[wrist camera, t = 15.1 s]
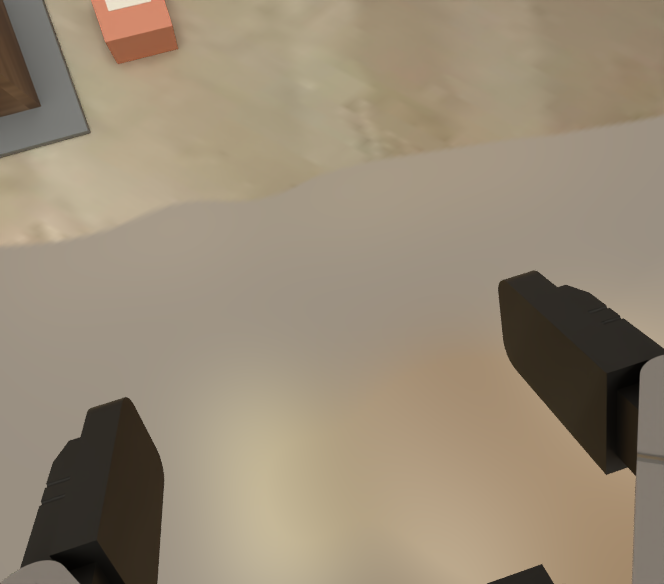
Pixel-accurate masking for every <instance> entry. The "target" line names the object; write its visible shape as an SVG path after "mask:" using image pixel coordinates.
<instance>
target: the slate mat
mask: <svg viewBox="0 0 664 584" xmlns="http://www.w3.org/2000/svg"><path fill="white" fill-rule="evenodd" d="M3 2H4V5H5V8H6V10H7V13H8V16H9V19H10V21H11V24H12V27H13V30H14V32H15V35H16V38H17V41H18V43H19V46H20V49H21V52H22V55H23V57H24V60H25V63H26V66H27V68H28V71H29V74H30V77H31V79H32V82H33V85H34V88H35V90H36V93H37V96H38V99H39V102H40V104H41V107H37V108H34V109H30V110H26V111H22V112H18V113H15V114H11V115H7V116H3V117H0V157H4V156H8V155H11V154H15V153H19V152H22V151H26V150H30V149H33V148H37V147H40V146H44V145H48V144H51V143H55V142H59V141H62V140H66V139H70V138H73V137H77V136H81V135H84V134H88V133H90V130H89V127H88V124H87V121H86V118H85V116H84V113H83V110H82V107H81V104H80V102H79V99H78V96H77V93H76V90H75V87H74V85H73V82H72V79H71V76H70V73H69V70H68V68H67V65H66V62H65V59H64V56H63V54H62V51H61V48H60V45H59V42H58V39H57V37H56V34H55V31H54V28H53V25H52V22H51V20H50V17H49V14H48V11H47V8H46V6H45V3H44V0H3Z"/></svg>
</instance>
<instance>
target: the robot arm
mask: <svg viewBox="0 0 664 584" xmlns="http://www.w3.org/2000/svg"><path fill="white" fill-rule="evenodd" d="M498 292H499V303H500V313H501V321H502V332H503V341H504V346H505V349H506V352H507V355H508V357H509V360H510V361H511V363H512V365H513V366H514V368H515V369H516V370H517V371H518V373H519V374H520V375H521V376H522V377H523V378H524V380H525V381H526V382H527V383H528V384H529V385H530V386H531V388H532V389H533V390H534V391H535V392H536V393H537V395H538V396H539V397H540V398H541V399H542V400H543V401H544V403H545V404H546V405H547V406H548V408H549V409H550V410H551V411H552V412H553V413H554V415H555V416H556V417H557V418H558V419H559V420H560V421H561V423H562V424H563V425H564V426H565V427H566V429H567V430H568V431H569V432H570V433H571V434H572V436H573V437H574V438H575V439H576V440H577V441H578V442H579V444H580V445H581V446H582V447H583V448H584V450H585V451H586V452H587V453H588V454H589V455H590V457H591V458H592V459H593V460H594V461H595V462H596V463H597V465H598V466H599V467H600V468H601V469H602V470H603V471H604V473H605V474H606V475H607V474H610V473H613V472H616V471H618V470H621V469H624V468H627V467H628V468H629V469H630V470H631V471H632V472H633V473H634V475H635V476H636V487H635V515H634V542H633V568H632V584H664V348H662V347H661V346H660V345H658V344H657V343H656V342H654V341H653V340H652V339H650V338H649V337H648V336H646V335H645V334H643V333H642V332H641V331H640V330H638V329H637V328H635V327H634V326H633V325H631V324H630V323H629V322H627V321H626V320H625V319H621V318H620V315H618V314H617V313H616V312H614V311H613V310H612V309H610V308H608V309H607V307H606V305H605V304H604V303H602V302H601V301H600V300H598V299H597V298H596V297H594V296H593V295H592V294H590V293H589V292H586V291H583V290H579V289H577V288H574V287H571V286H568V285H564V286H560V287H556V286H555V285H554V284H552V283H551V282H550V281H549V280H548V279H546V278H545V277H544V276H543V275H541V274H540V273H539V272H537V271H530V272H528V273H524V274H521V275H518V276H515V277H511V278H508V279H505V280H502V281H501V282H500V283H499V287H498ZM46 484H47V488H45V490H44V493H43V496H42V500H41V503H42V505H41V506H39V509H38V512H37V516H36V519H35V522H34V525H33V529H32V532H31V535H30V538H29V542H28V545H27V548H26V551H25V554H24V558H23V561H22V564H21V568H20V569H19V570H17V571H16V572H14V573H12V574H11V575H10V576H8V577H7V578H6V579H4V580H3V581H2V582H1V583H0V584H157V580H158V564H159V550H160V534H161V521H162V520H161V519H162V505H163V491H164V472H163V466H162V462H161V459H160V456H159V453H158V451H157V449H156V447H155V445H154V443H153V441H152V439H151V437H150V435H149V433H148V432H147V429H146V427H145V426H144V424H143V422H142V420H141V418H140V416H139V414H138V412H137V410H136V408H135V406H134V404H133V403H132V402H131V400H130V399H129V398H127V397H125V398H122V399H118V400H115V401H112V402H109V403H106V404H103V405H99V406H96V407H93V408H90V409H89V410H88V412H87V415H86V419H85V423H84V426H83V430H82V434H81V437H80V438H77V439H74V440H70V441H69V442H68V443H67V444H66V446H65V447H64V449H63V450H62V451H61V452H60V454H59V455H58V456H57V458H56V459H55V460H54V462H53V464H52V467H51V471H50V474H49V477H48V481H47V483H46ZM487 584H554V583H553V582H552V580H551V578H550V577H549V575H548V573H547V572H546V570H545V568H544V567H543V565H542V564H541V565H538V566H535V567H533V568H530V569H527V570H524V571H521V572H519V573H516V574H513V575H510V576H507V577H505V578H502V579H499V580H496V581H493V582H490V583H487Z"/></svg>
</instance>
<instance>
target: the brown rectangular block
mask: <svg viewBox="0 0 664 584" xmlns="http://www.w3.org/2000/svg"><path fill="white" fill-rule="evenodd" d="M37 107H41V104H40V102H39V99H38V96H37V93H36V90H35V88H34V85H33V82H32V79H31V77H30V74H29V71H28V68H27V66H26V63H25V60H24V57H23V55H22V52H21V49H20V46H19V43H18V41H17V38H16V35H15V32H14V30H13V27H12V24H11V21H10V19H9V16H8V13H7V10H6V8H5V5H4V2H3V0H0V117H3V116H7V115H11V114H15V113H18V112H22V111H26V110H30V109H34V108H37Z"/></svg>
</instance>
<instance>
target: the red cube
mask: <svg viewBox="0 0 664 584" xmlns="http://www.w3.org/2000/svg"><path fill="white" fill-rule="evenodd" d="M91 1H92V4H93V7H94V10H95V13H96V16H97V19H98V22H99V25H100V28H101V31H102V34H103V37H104V39H105V42H106V44H107V46H108V48H109V49H110V51H111V53H112V55H113V56H114V58H115V60H116V62H117V63H118V64H120V63H124V62H128V61H132V60H136V59H140V58H144V57H148V56H152V55H156V54H160V53H164V52H168V51H172V50H176V49H178V47H177V43H176V38H175V34H174V30H173V26H172V23H171V20H170V17H169V13H168V10H167V7H166V4H165V1H164V0H91Z"/></svg>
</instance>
